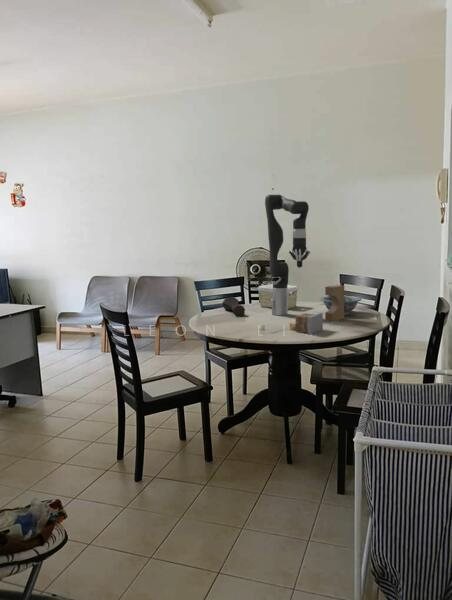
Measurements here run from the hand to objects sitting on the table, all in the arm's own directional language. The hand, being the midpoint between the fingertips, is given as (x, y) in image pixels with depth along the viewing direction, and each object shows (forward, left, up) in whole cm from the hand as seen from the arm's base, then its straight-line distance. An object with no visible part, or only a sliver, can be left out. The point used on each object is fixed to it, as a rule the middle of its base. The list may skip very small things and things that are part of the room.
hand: (299, 267), depth 276 cm
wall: (+19, -19, -32) cm, 42 cm away
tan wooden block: (+10, -19, -32) cm, 39 cm away
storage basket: (-38, +39, -32) cm, 63 cm away
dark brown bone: (-52, +7, -32) cm, 62 cm away
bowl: (+10, +35, -32) cm, 49 cm away
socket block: (+14, -19, -32) cm, 40 cm away
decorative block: (+15, +15, -32) cm, 39 cm away
